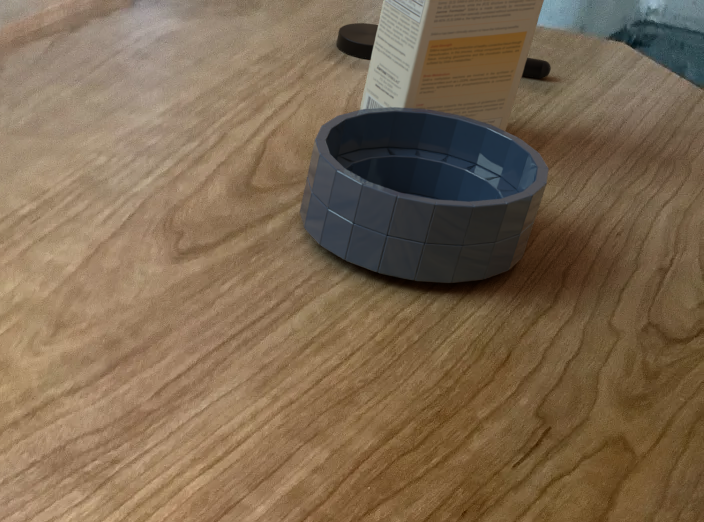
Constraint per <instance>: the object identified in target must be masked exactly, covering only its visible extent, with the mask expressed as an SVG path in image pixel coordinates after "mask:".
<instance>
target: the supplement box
mask: <svg viewBox="0 0 704 522" xmlns="http://www.w3.org/2000/svg"><path fill="white" fill-rule="evenodd" d="M544 1H545V0H383V2H382V5H381V10H380V14H379V15H380V16H379V20H378V24H377V25H378V28H377V33H376V37H375V42H374V47H373V51H372V56H371V59H370V61H369V65H368V70H367V74H366V81H365V84H364V88H363V94H362V98H361V102H360V107H359V110H361V109H362V110H363V109H373V108H386V107H400V108H416V109H426V110H427V109H428V110H434V111H439V112H445V113H450V114H456V115H460V116H464V117H467V118H471V119H474V120H477V121H480V122H483V123H487V124H490V125H492V126H495V127H497V128H499V129H501V130H503V131H506V130H507V128H508V124H509V121H510V117H511V114H512V111H513V107H514V103H515V101H516V97H517V95H518V94H517V93H518V90H519V88H520V83H521V80H522V77H523V75H522V74H523V70H524V67H525V63H526V60H527V58H528V57H529V52H530V50H531V46H532V43H533V39H534V35H535V31H536V28H537V25H538V23H539V17H540V15H541V11H542V8H543V5H544ZM506 132H507V131H506Z"/></svg>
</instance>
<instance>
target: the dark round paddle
mask: <svg viewBox="0 0 704 522" xmlns="http://www.w3.org/2000/svg"><path fill="white" fill-rule="evenodd" d="M377 28H378V24H374V23H366V22H365V23H364V22H357V23H348V24H344V25H342V26H341V27H339V29H338V33H337V38H336V43H335V45H336V47H337V48H338V50H339V51H341V52H343V53H344V54H347V55H349V56H353V57H355V58H359V59H366V60H371V56H372V51H373V47H374V42H375V37H376V33H377ZM551 69H552V67H551V64H550V62H549V61H547V60H545V59H539V58H534V57H533V58H532V57H527V60H526V63H525V67H524V70H523V74H522V77H523V76H524V77H530V78H535V79H545V78H547V77H548V76H549V75H550V73H551Z"/></svg>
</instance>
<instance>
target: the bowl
mask: <svg viewBox="0 0 704 522" xmlns="http://www.w3.org/2000/svg"><path fill="white" fill-rule="evenodd" d="M549 170H550V169H549V167H548V165H547V164H546V162H545V160H544V158H543V157H542V154H541V153H540V152H538V151H537V150H536V149H534V147H532V146H531V145H529V144H528V143H527V142H526V141H524V140H523V139H521V138H520V137H518V136H517V135H514V134H512V133H509V132H508V131H503V130H501V129H499V128H497V127H495V126H492V125H490V124H487V123H483V122H480V121H477V120H474V119H471V118H467V117H464V116H460V115H456V114H450V113H445V112H439V111H434V110H428V109H427V110H426V109H416V108H400V107H386V108H373V109H363V110H362V109H361V110H360V109H358V110H354V111H351V112H350V111H349V112H347V113H346V112H345V113H342V114H339V115H336V116H335V117H333V118H331V119H330V120H328V121H327V122H325V123H324V124H322V125H320V128H319V130H318V132H317V134H316V136H315V138H314V142H313V147H312V151H311V156H310V162H309V166H308V171H307V176H306V180H305V184H304V190H303V195H302V198H301V199H302V200H301V204H300V209H299V215H300V218H301V223H302V225H303V228H304V230H305V231H306V232H307V233H308V235H309V236H311V238H312V239H313V240H314V241H315V242H316V243H317V244H318V245H319V246H321V247H322V248H323V249H325V250H326V251H328V252H330V253H332V254H333V255H335V256H337V257H339V258H340V259H342V260H343V261H346V262H348V263H350V264H353V265H356V266H358V267H361V268H364V269H366V270H368V271H369V270H370V271H371V272H375V273H377V274H380V275H381V274H382V275H385V276H389V277H391V278H397V279H403V280H408V281H414V282H424V283H425V282H428V283H443V284H453V283H454V284H455V283H464V282H465V283H466V282H473V281H483V280H487V279H489V278H492V277H494V276H497V275H501V274H502V273H506V272H508V271H510V270H511V269H512V268H513V267H514V266H515V265H516V264H517V263H518V262H519V261H520V260H522V259H523V257H524V254H525V251H526V248H527V245H528V242H529V239H530V236H531V233H532V230H533V227H534V223H535V221H536V217H537V215H538V211H539V208H540V205H541V202H542V199H543V196H544V193H545V190H546V188H547V184H548V177H549V172H550V171H549Z"/></svg>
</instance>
